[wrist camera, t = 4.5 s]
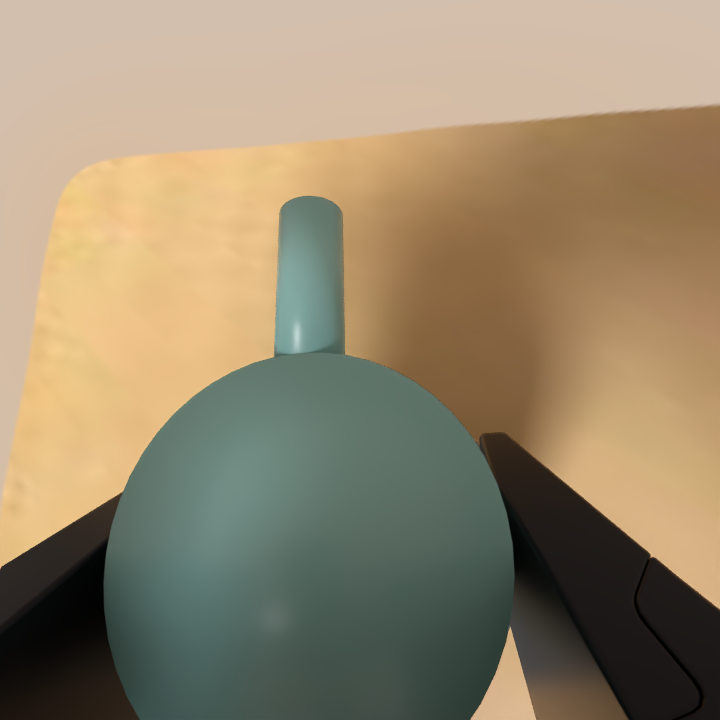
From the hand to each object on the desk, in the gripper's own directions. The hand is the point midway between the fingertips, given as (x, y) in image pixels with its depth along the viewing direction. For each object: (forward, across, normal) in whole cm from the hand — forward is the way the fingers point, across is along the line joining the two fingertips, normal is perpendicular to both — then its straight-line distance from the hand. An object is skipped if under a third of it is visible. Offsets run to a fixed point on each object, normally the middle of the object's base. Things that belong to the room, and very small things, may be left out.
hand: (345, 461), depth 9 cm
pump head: (+1, 0, +2) cm, 2 cm away
